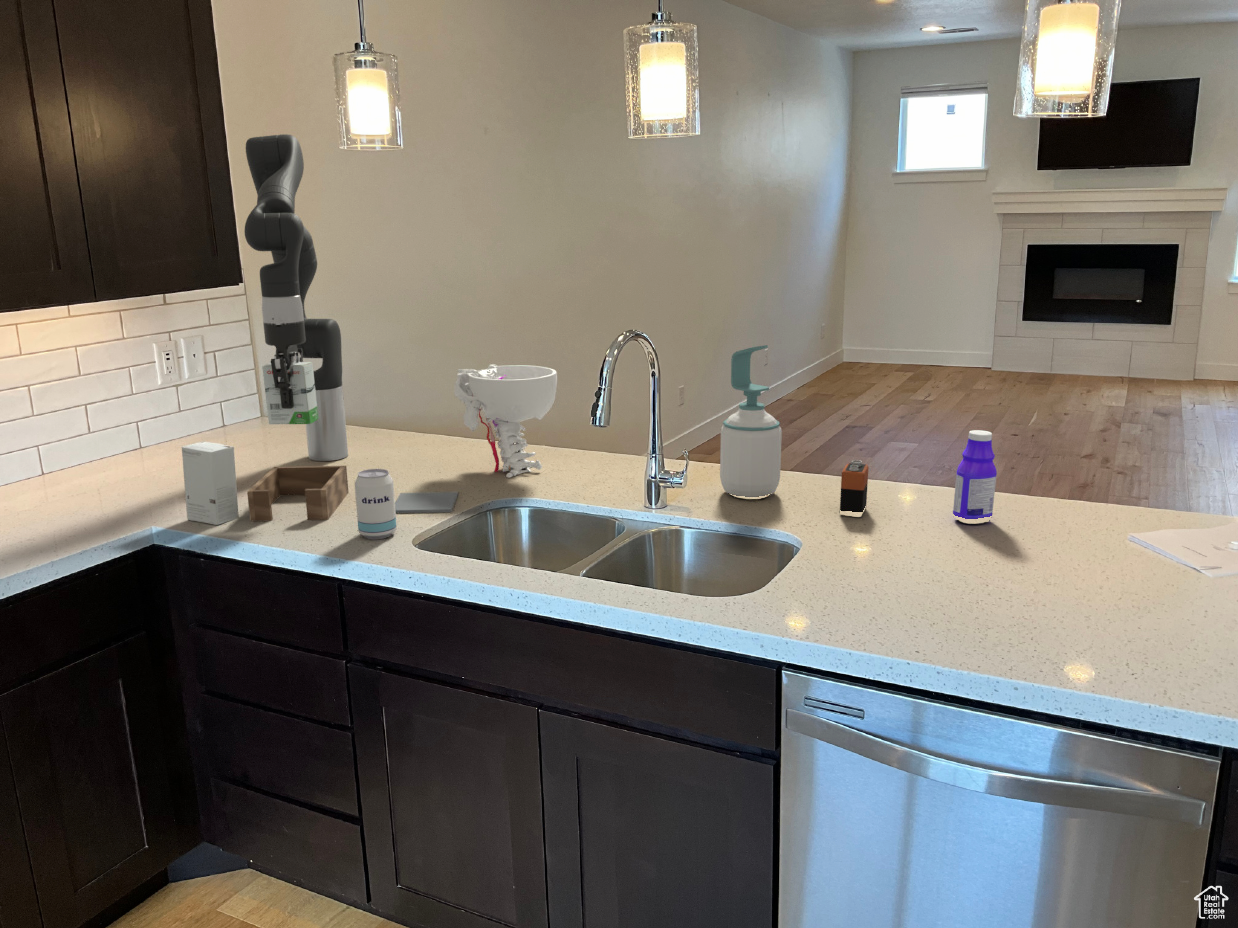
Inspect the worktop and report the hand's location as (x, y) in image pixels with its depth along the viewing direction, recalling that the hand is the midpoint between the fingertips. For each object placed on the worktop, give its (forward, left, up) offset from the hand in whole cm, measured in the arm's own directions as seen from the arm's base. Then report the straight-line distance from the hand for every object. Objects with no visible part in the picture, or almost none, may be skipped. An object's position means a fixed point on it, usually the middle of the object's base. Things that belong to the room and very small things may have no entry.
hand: (291, 404), depth 197 cm
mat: (0, +25, -21) cm, 33 cm away
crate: (0, 0, -21) cm, 21 cm away
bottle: (+19, +131, -21) cm, 134 cm away
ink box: (0, 0, -4) cm, 4 cm away
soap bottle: (-2, +92, -21) cm, 94 cm away
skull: (-24, +40, -21) cm, 51 cm away
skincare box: (+7, -15, -21) cm, 27 cm away
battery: (+12, +110, -21) cm, 113 cm away
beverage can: (+19, +19, -21) cm, 34 cm away
